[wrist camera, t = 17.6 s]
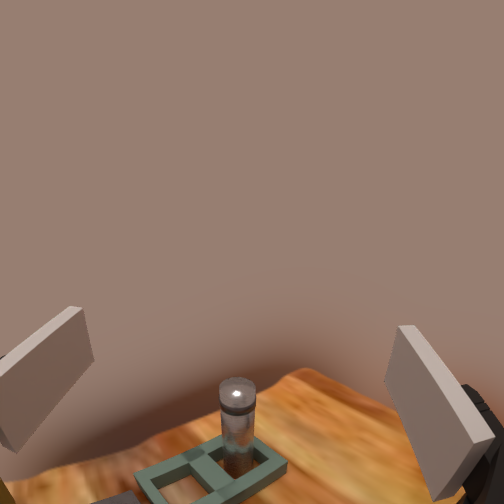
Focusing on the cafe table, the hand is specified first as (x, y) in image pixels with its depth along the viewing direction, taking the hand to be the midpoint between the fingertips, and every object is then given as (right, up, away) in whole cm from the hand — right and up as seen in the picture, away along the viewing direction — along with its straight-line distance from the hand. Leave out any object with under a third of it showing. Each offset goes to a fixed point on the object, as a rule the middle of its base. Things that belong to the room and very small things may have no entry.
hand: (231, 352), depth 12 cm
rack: (-5, -27, +22) cm, 35 cm away
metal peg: (-1, -27, +25) cm, 37 cm away
